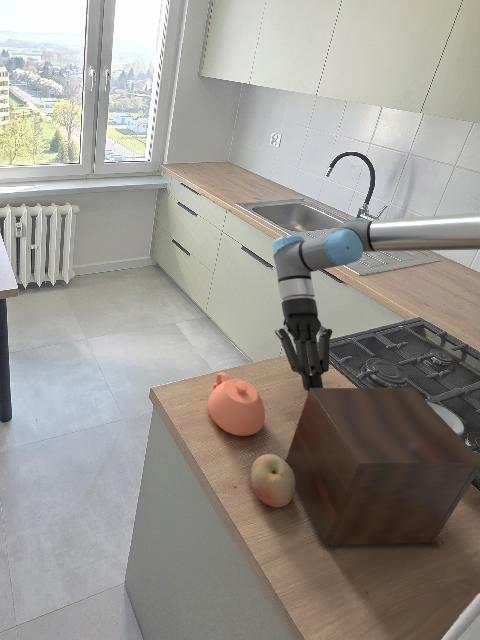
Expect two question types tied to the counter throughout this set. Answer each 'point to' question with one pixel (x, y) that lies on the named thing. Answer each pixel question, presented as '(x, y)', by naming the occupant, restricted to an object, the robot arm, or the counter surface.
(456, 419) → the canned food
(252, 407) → the sugar bowl
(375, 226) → the robot arm
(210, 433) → the counter surface
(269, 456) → the fruit
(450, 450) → the block
